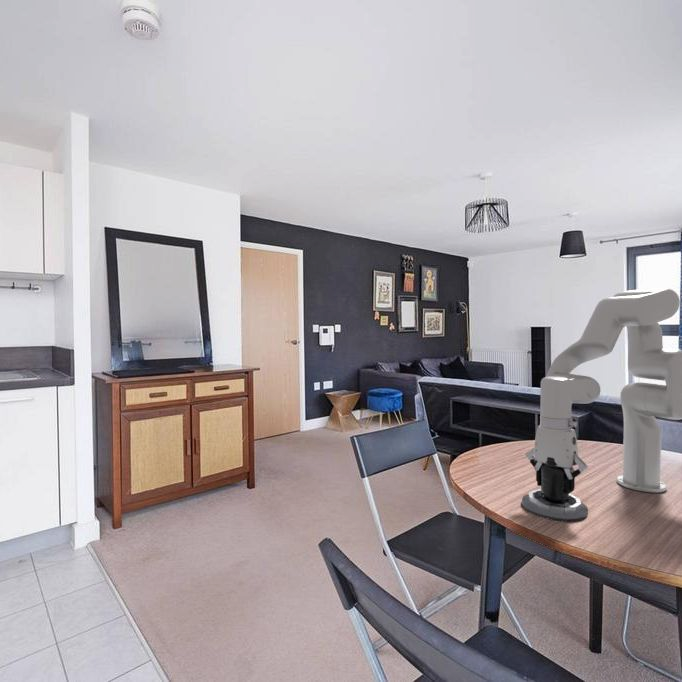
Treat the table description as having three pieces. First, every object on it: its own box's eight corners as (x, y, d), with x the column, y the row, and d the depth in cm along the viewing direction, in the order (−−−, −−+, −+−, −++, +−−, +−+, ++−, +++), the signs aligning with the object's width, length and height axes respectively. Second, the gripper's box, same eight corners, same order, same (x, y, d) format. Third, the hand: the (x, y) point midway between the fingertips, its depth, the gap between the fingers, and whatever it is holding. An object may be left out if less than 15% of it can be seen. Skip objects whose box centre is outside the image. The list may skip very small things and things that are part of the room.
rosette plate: (538, 492, 130) (538, 482, 130) (597, 509, 118) (597, 499, 118) (510, 506, 120) (511, 496, 119) (572, 527, 107) (572, 516, 107)
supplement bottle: (560, 494, 122) (560, 451, 122) (574, 504, 115) (574, 459, 115) (535, 494, 122) (536, 452, 121) (548, 505, 115) (548, 459, 115)
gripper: (596, 426, 114) (595, 494, 114) (530, 415, 127) (530, 476, 128) (584, 431, 109) (583, 502, 109) (517, 419, 122) (517, 483, 123)
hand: (554, 487), depth 118 cm, fingers closed on supplement bottle, 6 cm apart
